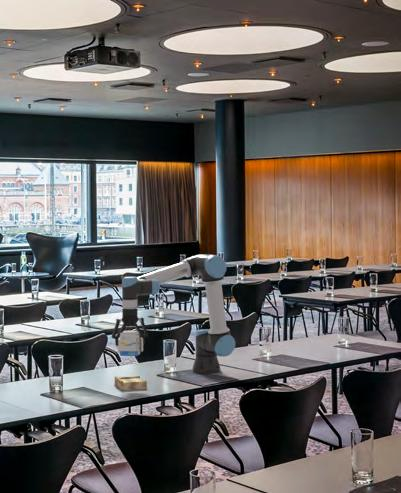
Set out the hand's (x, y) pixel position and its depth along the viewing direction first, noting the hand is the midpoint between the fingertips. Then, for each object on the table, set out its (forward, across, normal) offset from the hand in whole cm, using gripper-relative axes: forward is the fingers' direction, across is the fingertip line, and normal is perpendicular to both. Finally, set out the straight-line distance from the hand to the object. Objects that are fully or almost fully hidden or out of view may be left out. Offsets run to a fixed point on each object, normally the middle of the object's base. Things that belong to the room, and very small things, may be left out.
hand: (130, 351), depth 448 cm
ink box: (+2, 0, 0) cm, 2 cm away
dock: (+18, 0, 0) cm, 18 cm away
